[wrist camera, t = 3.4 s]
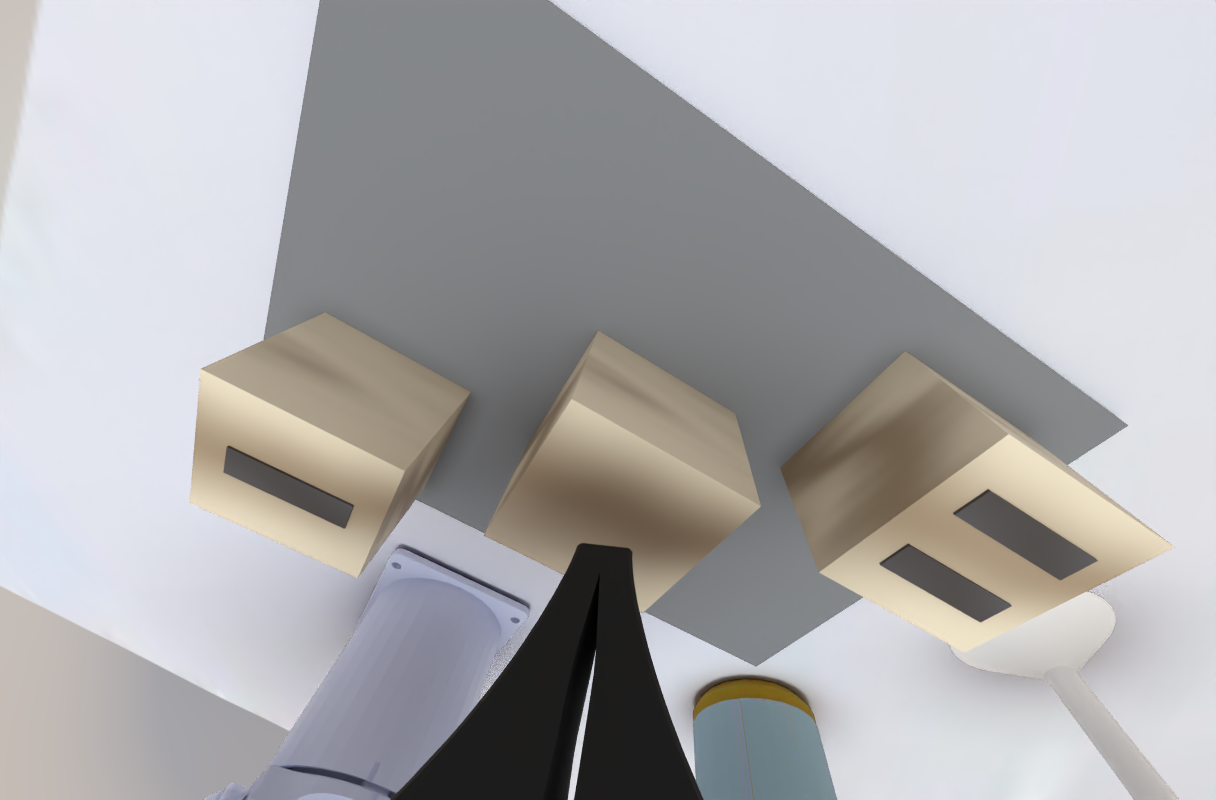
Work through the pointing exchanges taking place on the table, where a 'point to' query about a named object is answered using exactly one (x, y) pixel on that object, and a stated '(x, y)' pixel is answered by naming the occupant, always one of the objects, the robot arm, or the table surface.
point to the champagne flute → (1073, 680)
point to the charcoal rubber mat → (609, 272)
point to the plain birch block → (628, 472)
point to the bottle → (758, 745)
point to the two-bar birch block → (953, 511)
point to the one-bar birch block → (320, 439)
